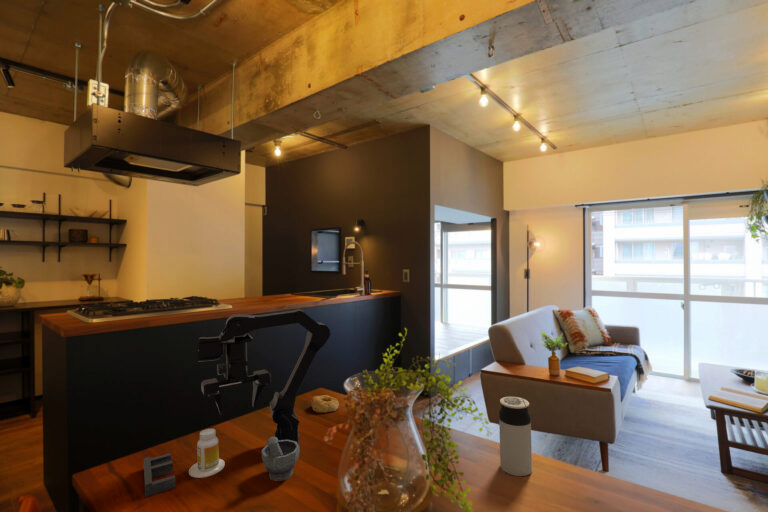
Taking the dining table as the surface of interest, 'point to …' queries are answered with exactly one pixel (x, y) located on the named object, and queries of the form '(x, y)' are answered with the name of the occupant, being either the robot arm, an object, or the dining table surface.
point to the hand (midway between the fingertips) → (237, 410)
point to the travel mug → (515, 436)
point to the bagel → (324, 404)
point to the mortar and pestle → (280, 458)
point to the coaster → (200, 474)
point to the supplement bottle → (207, 450)
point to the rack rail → (158, 474)
